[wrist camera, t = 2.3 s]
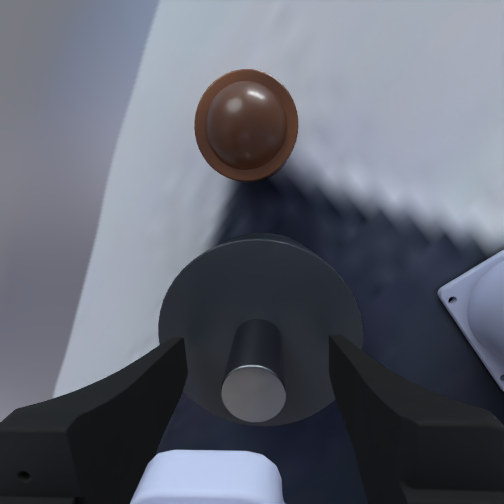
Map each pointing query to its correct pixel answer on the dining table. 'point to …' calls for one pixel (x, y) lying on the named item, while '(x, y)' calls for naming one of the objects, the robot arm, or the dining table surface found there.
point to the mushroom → (246, 125)
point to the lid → (259, 329)
